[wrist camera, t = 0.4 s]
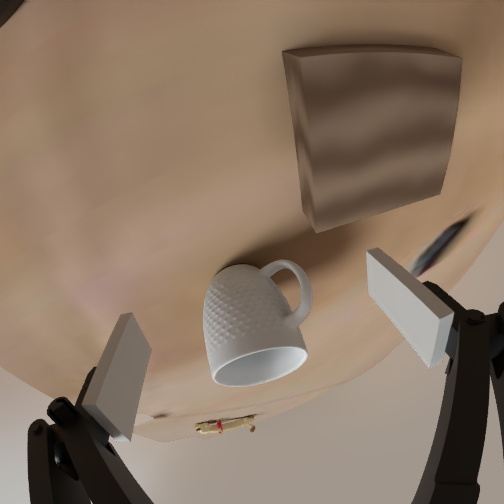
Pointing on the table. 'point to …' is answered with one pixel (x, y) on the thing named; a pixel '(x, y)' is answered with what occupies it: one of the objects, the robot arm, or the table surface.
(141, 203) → the table surface
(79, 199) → the table surface
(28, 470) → the robot arm
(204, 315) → the mug
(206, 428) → the cat figure
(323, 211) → the riser board
